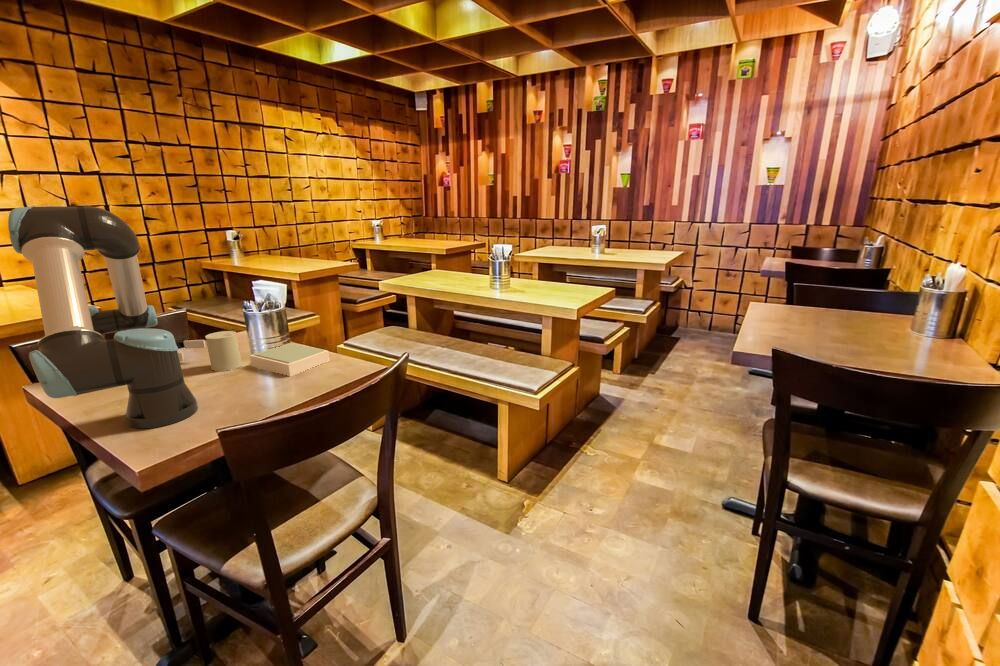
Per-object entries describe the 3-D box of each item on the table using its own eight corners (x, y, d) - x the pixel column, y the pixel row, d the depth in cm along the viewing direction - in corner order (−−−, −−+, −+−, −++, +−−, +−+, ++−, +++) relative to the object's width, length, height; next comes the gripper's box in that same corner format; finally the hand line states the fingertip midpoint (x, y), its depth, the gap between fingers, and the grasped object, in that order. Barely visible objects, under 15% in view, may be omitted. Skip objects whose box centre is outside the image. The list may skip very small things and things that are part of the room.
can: (232, 371, 149) (226, 337, 146) (205, 371, 149) (198, 337, 146) (247, 362, 158) (242, 329, 155) (222, 362, 158) (215, 329, 155)
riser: (329, 361, 158) (328, 349, 157) (290, 376, 145) (288, 363, 143) (291, 353, 167) (290, 341, 166) (251, 366, 154) (249, 354, 153)
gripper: (151, 351, 161) (214, 348, 164) (101, 377, 138) (175, 373, 140) (147, 331, 159) (210, 329, 162) (94, 354, 136) (170, 351, 138)
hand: (194, 349), depth 151 cm, fingers open, 13 cm apart
